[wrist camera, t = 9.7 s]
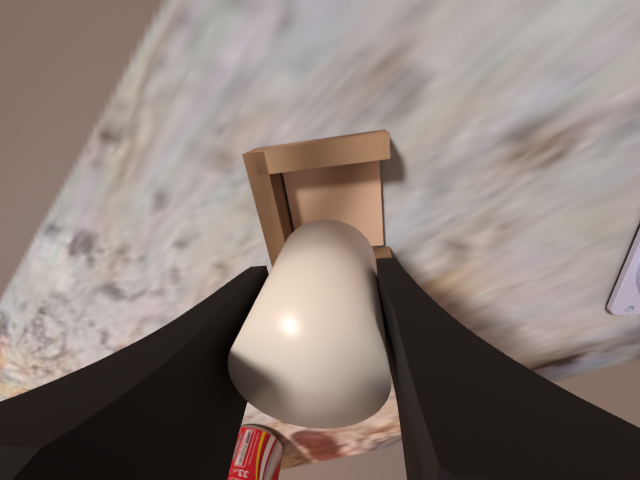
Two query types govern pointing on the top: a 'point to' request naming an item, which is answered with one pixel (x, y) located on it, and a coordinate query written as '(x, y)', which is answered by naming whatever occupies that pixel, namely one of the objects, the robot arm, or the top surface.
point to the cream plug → (316, 332)
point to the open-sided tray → (320, 186)
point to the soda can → (256, 455)
